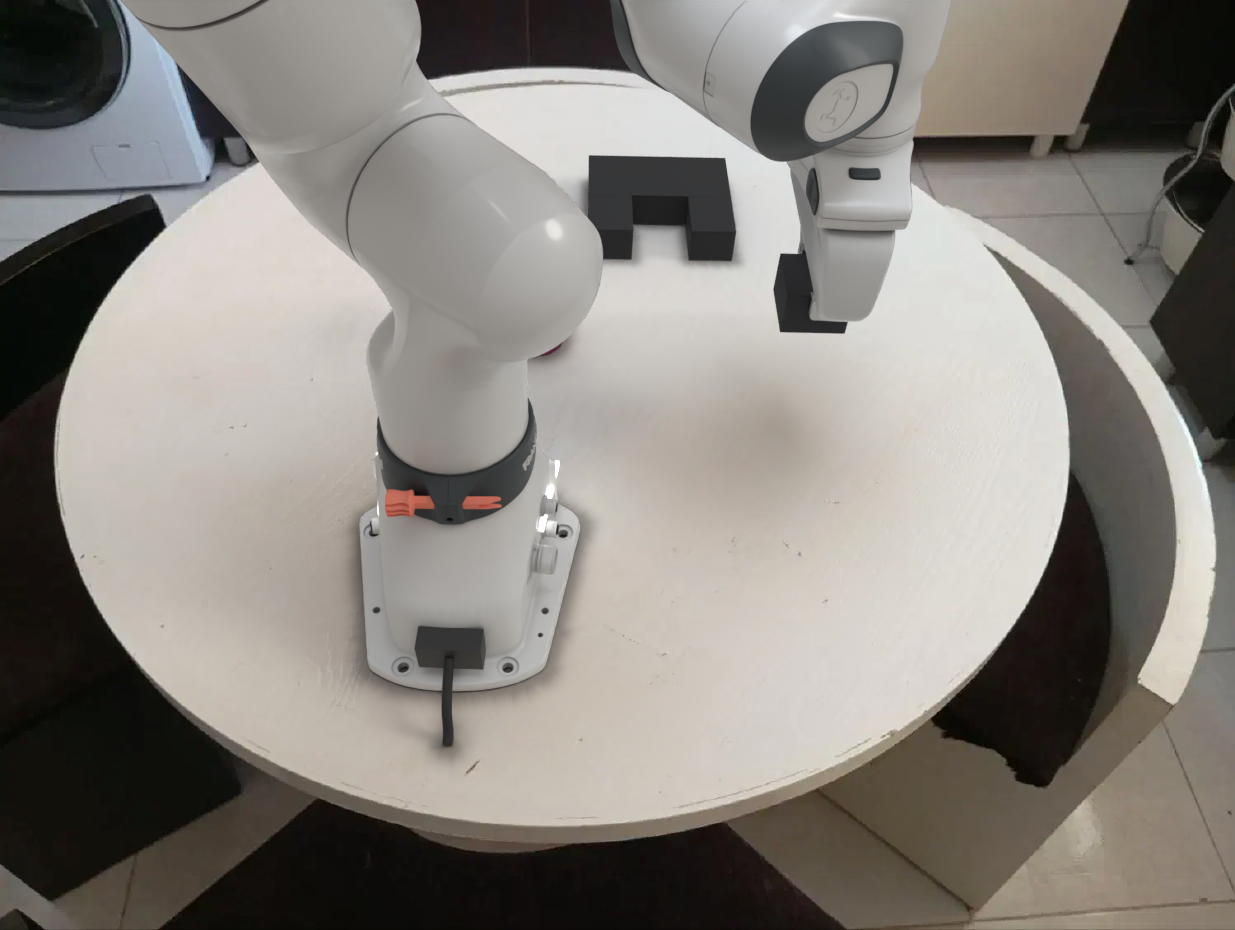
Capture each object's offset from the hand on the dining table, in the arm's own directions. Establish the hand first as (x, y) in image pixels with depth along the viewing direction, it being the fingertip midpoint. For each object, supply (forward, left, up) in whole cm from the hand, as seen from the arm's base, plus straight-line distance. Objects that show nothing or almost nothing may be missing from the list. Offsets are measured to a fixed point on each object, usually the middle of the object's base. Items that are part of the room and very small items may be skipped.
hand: (813, 287), depth 83 cm
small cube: (0, 0, -3) cm, 3 cm away
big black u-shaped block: (+31, +11, -16) cm, 36 cm away
